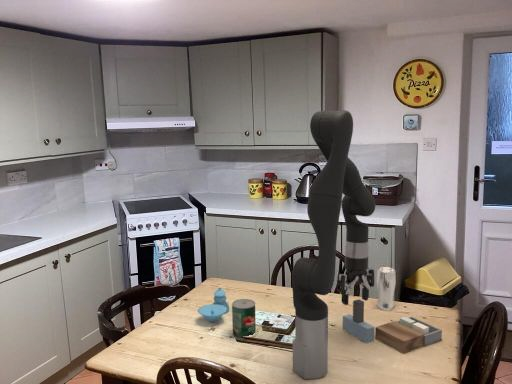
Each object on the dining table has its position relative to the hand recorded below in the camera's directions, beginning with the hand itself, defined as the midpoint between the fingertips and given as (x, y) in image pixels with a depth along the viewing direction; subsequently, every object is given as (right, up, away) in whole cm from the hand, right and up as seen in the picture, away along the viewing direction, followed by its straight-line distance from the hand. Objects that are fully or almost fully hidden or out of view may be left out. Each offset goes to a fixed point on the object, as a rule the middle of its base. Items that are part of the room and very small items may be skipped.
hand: (355, 302), depth 156 cm
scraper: (+1, -12, +2) cm, 12 cm away
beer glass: (+17, -8, +25) cm, 31 cm away
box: (+21, -12, +1) cm, 24 cm away
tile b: (+17, -9, +1) cm, 19 cm away
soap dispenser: (-48, -10, +19) cm, 52 cm away
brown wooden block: (+13, -12, -3) cm, 18 cm away
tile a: (+20, -9, -3) cm, 22 cm away
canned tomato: (-37, -12, +4) cm, 39 cm away
